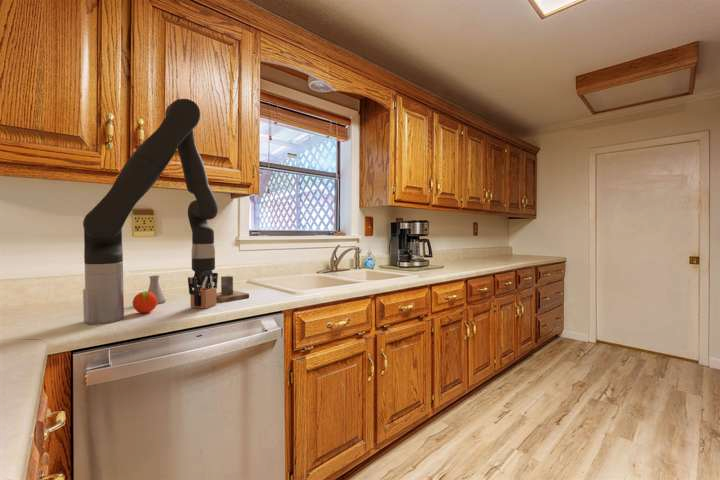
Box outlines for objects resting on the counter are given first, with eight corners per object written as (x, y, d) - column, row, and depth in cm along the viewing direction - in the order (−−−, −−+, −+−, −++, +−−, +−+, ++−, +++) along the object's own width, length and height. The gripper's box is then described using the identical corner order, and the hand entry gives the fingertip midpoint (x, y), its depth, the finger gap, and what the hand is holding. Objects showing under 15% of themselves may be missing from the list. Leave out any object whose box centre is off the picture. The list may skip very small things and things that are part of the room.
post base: (220, 302, 130) (220, 279, 129) (205, 298, 138) (204, 276, 137) (249, 297, 139) (248, 276, 139) (233, 293, 147) (233, 273, 146)
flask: (138, 304, 126) (138, 277, 125) (151, 300, 133) (150, 274, 133) (158, 305, 126) (158, 277, 125) (170, 300, 133) (169, 274, 132)
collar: (206, 308, 120) (206, 290, 119) (190, 307, 121) (190, 290, 121) (216, 304, 126) (216, 287, 125) (201, 303, 127) (201, 287, 126)
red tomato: (157, 314, 112) (157, 292, 111) (131, 317, 108) (131, 294, 108) (157, 309, 119) (157, 288, 118) (133, 311, 115) (132, 290, 115)
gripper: (200, 258, 115) (200, 309, 115) (224, 255, 129) (225, 300, 130) (179, 258, 116) (180, 308, 117) (206, 255, 130) (206, 299, 131)
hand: (203, 304), depth 123 cm, fingers closed on collar, 6 cm apart
